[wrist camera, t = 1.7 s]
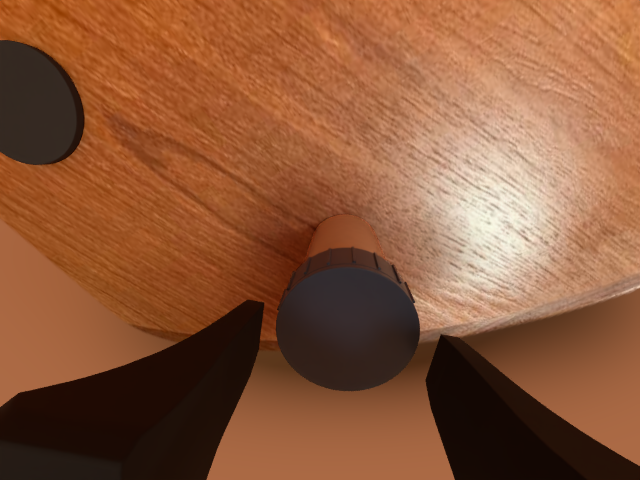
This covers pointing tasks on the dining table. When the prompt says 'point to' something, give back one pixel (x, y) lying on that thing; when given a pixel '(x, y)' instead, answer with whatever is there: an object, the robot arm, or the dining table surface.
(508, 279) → the dining table surface
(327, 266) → the lid
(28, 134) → the coaster
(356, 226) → the jar
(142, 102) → the dining table surface
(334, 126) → the dining table surface
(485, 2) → the dining table surface
